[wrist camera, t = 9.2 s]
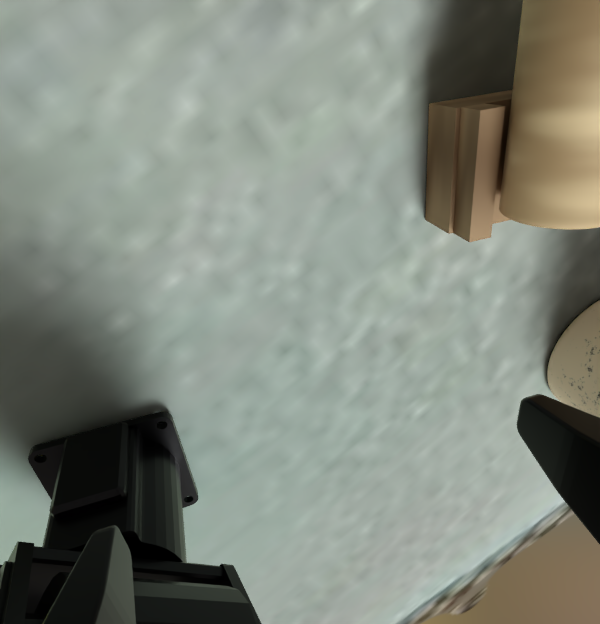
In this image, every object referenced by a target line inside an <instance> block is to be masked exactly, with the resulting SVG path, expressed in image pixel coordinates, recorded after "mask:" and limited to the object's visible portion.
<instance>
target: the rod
mask: <svg viewBox="0 0 600 624" xmlns="http://www.w3.org/2000/svg"><path fill="white" fill-rule="evenodd" d="M499 210H500V212H501V213H502V214H503V215H504V216H506V217H507V218H509V219H511V220H514V221H516V222H519V223H523V224H527V225H531V226H537V227H543V228H552V229H589V228H598V227H600V0H523V5H522V13H521V22H520V31H519V39H518V48H517V57H516V65H515V74H514V83H513V91H512V100H511V108H510V117H509V126H508V134H507V143H506V152H505V160H504V169H503V177H502V186H501V195H500V203H499Z"/></svg>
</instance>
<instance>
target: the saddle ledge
mask: <svg viewBox="0 0 600 624" xmlns="http://www.w3.org/2000/svg"><path fill="white" fill-rule="evenodd" d="M512 91H513V90H508V91H502V92H496V93H490V94H484V95H478V96H471V97H465V98H459V99H453V100H447V101H441V102H435V103H429V119H428V151H427V183H426V215H425V220H427V221H428V222H430V223H432V224H433V225H435V226H437V227H438V228H440V229H442V230H444V231H445V232H447V233H454V234H456V235H458V236H460V237H461V238H463V239H465V240H466V241H468V242H472V241H477V240H481V239H485V238H490V237H491V231H492V224H494V223H498V222H503V221H507V220H511V219H509V218H507V217H506V216H504V215H503V214H502V213H501V212H500V210H499V203H500V195H501V186H502V177H503V169H504V160H505V152H506V143H507V134H508V126H509V117H510V108H511V100H512Z"/></svg>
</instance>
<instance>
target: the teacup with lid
mask: <svg viewBox="0 0 600 624" xmlns="http://www.w3.org/2000/svg"><path fill="white" fill-rule="evenodd" d="M547 378H548V384H549V387H550V389H551V392H552V393H553V395H554V396H555V397H556V398H557V399H558V400H559V401H561V402H562V403H564V404H567V405H569V406H572V407H574V408H577V409H579V410H582V411H584V412H587V413H589V414H592V415H594V416H597V417H599V418H600V300H599V301H597V302H596V303H594V304H593V305H591V306H590V307H589V308H587V309H586V310H585V311H583V312H582V313H581V314H580V315H579V316H578V317H577V318H576V319H575V320H574V321H573V322H572V323H571V324H570V325H569V326H568V328H567V329H566V330H565V331H564V333H563V334H562V336H561V337H560V339H559V340H558V342H557V344H556V346H555V348H554V350H553V352H552V354H551V357H550V360H549V364H548V371H547Z"/></svg>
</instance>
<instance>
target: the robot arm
mask: <svg viewBox="0 0 600 624" xmlns="http://www.w3.org/2000/svg"><path fill="white" fill-rule="evenodd" d="M160 421H165V423H163V424H159V423H158V422H160ZM517 429H518V432H519V434H520V436H521V437H522V439H523V440H524V442H525V443H526V445H527V446H528V448H529V449H530V451H531V452H532V454H533V456H534V457H535V459H536V460H537V462H538V463H539V465H540V466H541V468H542V469H543V471H544V472H545V474H546V475H547V477H548V478H549V480H550V481H551V483H552V484H553V486H554V487H555V488H556V490H557V491H558V493H559V494H560V495H561V497H562V498H563V499H564V501H565V502H566V503H567V504H568V506H569V507H570V508H571V509H572V511H573V512H574V513H575V514H576V516H577V517H578V518H579V519H580V520H581V522H582V523H583V524H584V525H585V527H586V528H587V529H588V530H589V532H590V533H591V534H592V535H593V537H594V538H595V539H596V540H597V542H598V543H599V544H600V418H599V417H597V416H594V415H592V414H589V413H587V412H584V411H582V410H579V409H577V408H574V407H572V406H569V405H567V404H564V403H562V402H559V401H557V400H554V399H552V398H549V397H547V396H544V395H540V394H537V395H533V396H530V397H526V398H524V399H523V400H522V401H521V403H520V409H519V414H518V420H517ZM41 454H42V455H45V456H42V457H41V456H38V455H41ZM28 460H29V463H30V465H31V466H32V468H33V470H34V471H35V473H36V475H37V476H38V478H39V480H40V481H41V483H42V485H43V486H44V488H45V490H46V491H47V493H48V495H49V496H50V498H51V500H52V502H51V506H50V515H49V519H48V524H47V528H46V533H45V538H44V542H43V547H36V546H34V543H26V542H17V544H16V546H15V548H14V550H13V552H12V554H11V556H10V558H9V560H8V561H5V562H4V564H3V565H0V624H261V622H260V620H259V618H258V616H257V614H256V612H255V609H254V607H253V605H252V603H251V601H250V599H249V597H248V595H247V593H246V591H245V589H244V586H243V584H242V582H241V580H240V578H239V576H238V574H237V572H236V570H235V568H234V566H233V565H227V564H221V565H220V566H213V565H204V564H195V563H187V562H186V549H185V535H184V522H183V509H182V508H183V507H187V506H190V505H192V504H194V503H196V502H197V500H198V493H197V488H196V485H195V482H194V480H193V477H192V474H191V471H190V468H189V465H188V462H187V459H186V456H185V453H184V450H183V447H182V444H181V441H180V438H179V435H178V433H177V430H176V427H175V424H174V421H173V418H172V416H171V414H169V413H168V412H158V413H154V414H150V415H147V416H143V417H139V418H135V419H132V420H128V421H124V422H121V423H117V424H113V425H109V426H106V427H102V428H98V429H95V430H91V431H87V432H84V433H80V434H76V435H72V436H69V437H65V438H61V439H58V440H54V441H50V442H46V443H43V444H39V445H36V446H34V447H33V448H32V449H31V451H30V454H29V457H28ZM187 496H189V497H187Z"/></svg>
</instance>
